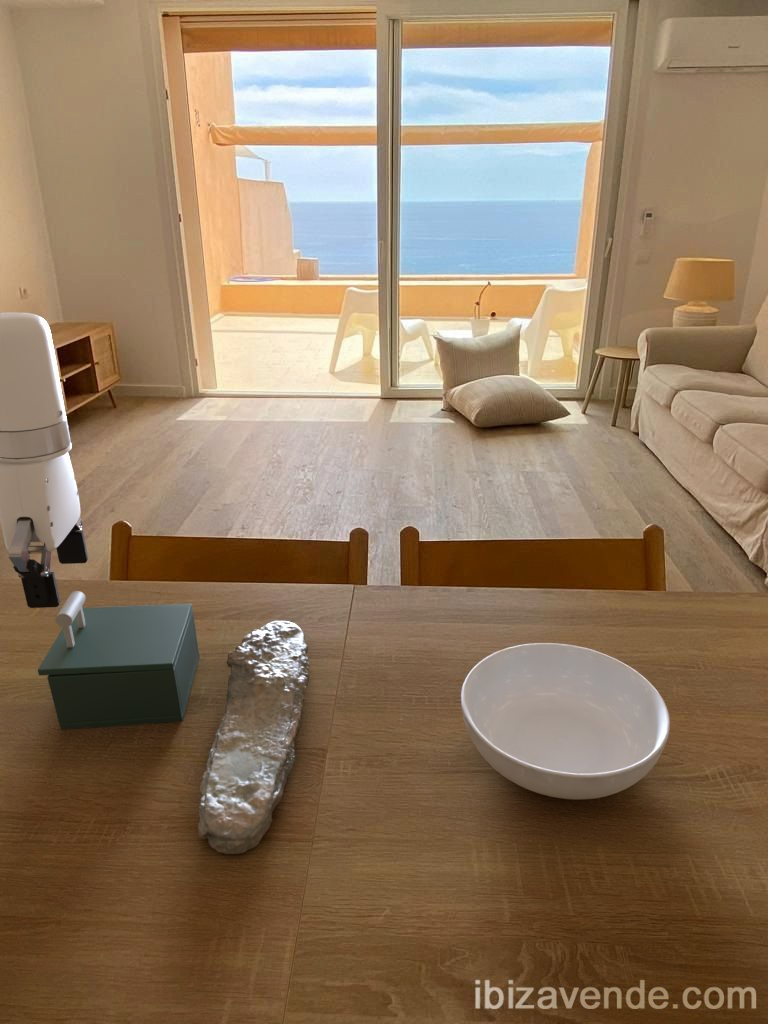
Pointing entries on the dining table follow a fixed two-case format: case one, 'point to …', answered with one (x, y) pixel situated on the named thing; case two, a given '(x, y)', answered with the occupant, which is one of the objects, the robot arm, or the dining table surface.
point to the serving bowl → (564, 719)
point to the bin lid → (115, 638)
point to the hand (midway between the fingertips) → (60, 583)
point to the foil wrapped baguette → (254, 737)
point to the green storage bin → (127, 692)
